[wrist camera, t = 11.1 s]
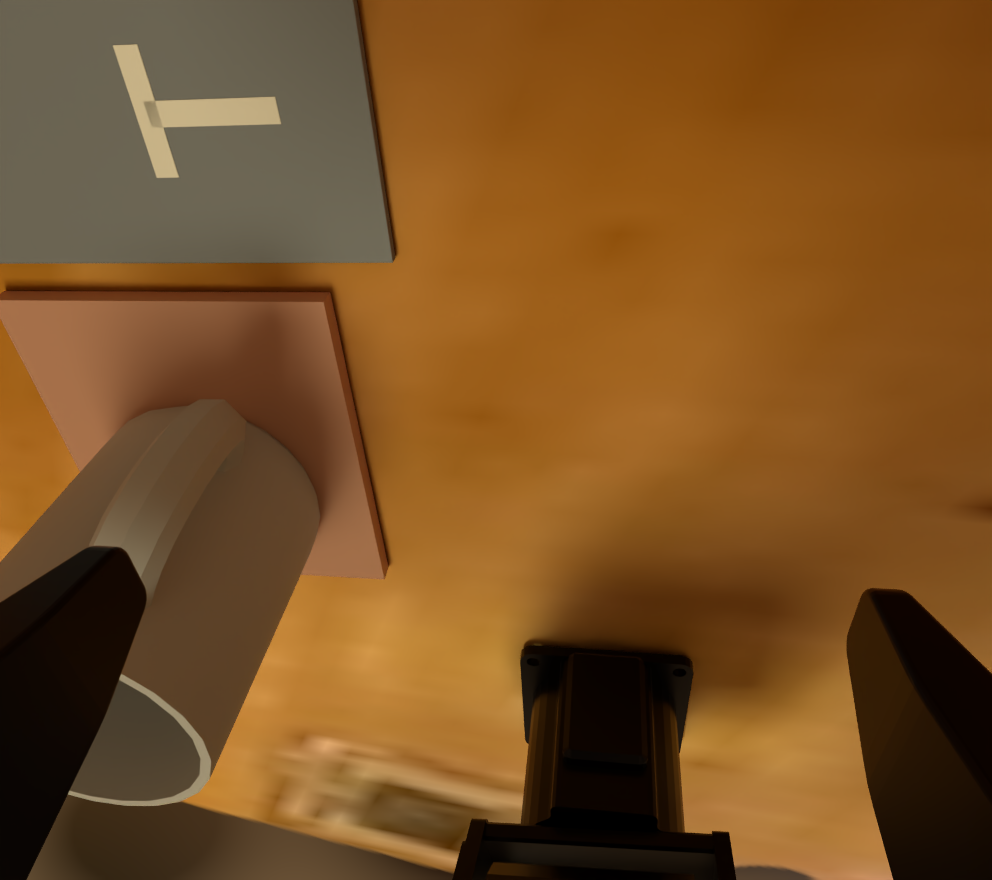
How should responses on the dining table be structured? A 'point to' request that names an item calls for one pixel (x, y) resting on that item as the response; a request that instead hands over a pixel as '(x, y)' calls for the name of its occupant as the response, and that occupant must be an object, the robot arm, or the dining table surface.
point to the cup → (181, 584)
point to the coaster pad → (210, 385)
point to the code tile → (188, 133)
